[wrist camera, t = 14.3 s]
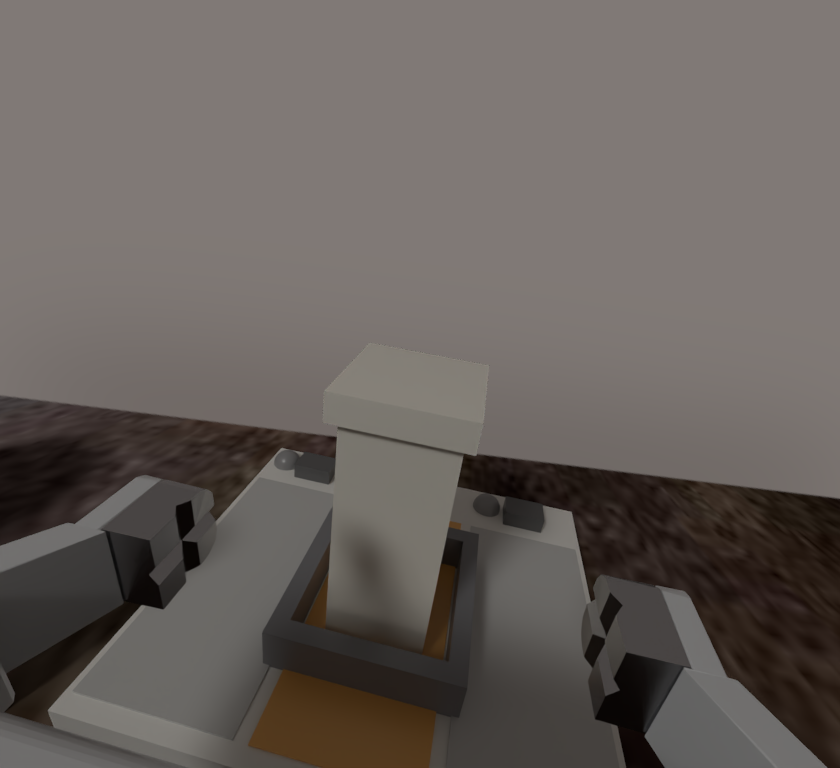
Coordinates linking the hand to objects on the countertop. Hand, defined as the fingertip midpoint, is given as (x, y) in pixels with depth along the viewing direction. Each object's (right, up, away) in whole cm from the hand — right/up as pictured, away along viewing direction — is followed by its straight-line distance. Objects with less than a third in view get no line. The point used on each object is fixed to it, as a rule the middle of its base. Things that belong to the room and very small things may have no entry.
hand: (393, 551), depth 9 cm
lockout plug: (-1, -7, +12) cm, 14 cm away
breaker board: (-1, -8, +14) cm, 16 cm away
